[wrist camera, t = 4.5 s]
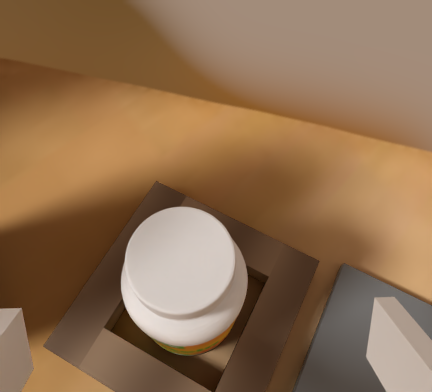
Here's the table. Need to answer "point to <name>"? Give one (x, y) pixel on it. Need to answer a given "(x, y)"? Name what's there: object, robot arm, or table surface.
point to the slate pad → (351, 334)
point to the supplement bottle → (183, 280)
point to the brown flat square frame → (155, 369)
